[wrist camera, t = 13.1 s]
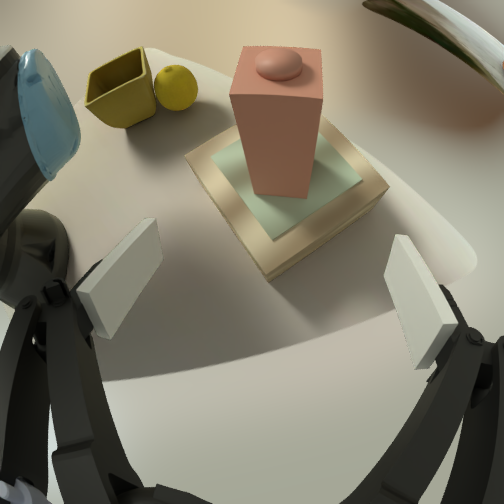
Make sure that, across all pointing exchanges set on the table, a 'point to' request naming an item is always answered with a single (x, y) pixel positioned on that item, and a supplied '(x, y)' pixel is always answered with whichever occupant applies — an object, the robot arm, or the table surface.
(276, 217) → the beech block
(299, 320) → the table surface
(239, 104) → the pink knobbed block
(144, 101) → the flower pot
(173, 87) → the lemon
